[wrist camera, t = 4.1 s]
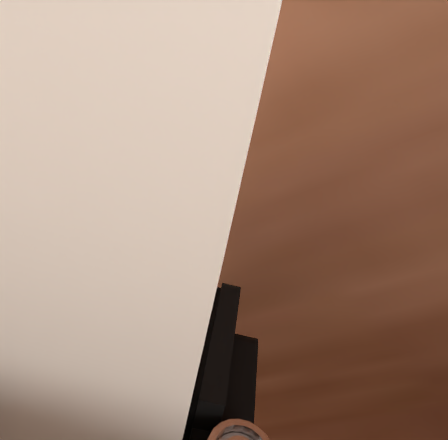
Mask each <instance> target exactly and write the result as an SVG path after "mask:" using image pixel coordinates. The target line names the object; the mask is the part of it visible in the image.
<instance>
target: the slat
mask: <svg viewBox="0 0 448 440" xmlns="http://www.w3.org/2000/svg"><path fill="white" fill-rule="evenodd" d="M281 4H282V0H0V440H182V439H183V434H184V430H185V426H186V421H187V417H188V412H189V408H190V404H191V399H192V395H193V390H194V386H195V382H196V377H197V373H198V368H199V364H200V360H201V355H202V351H203V346H204V342H205V338H206V333H207V329H208V324H209V320H210V316H211V311H212V307H213V303H214V298H215V294H216V289H217V285H218V281H219V276H220V272H221V267H222V263H223V259H224V254H225V250H226V245H227V241H228V237H229V232H230V228H231V223H232V219H233V215H234V210H235V206H236V201H237V197H238V193H239V188H240V184H241V179H242V175H243V171H244V166H245V162H246V157H247V153H248V149H249V144H250V140H251V135H252V131H253V127H254V122H255V118H256V114H257V109H258V105H259V100H260V96H261V92H262V87H263V83H264V78H265V74H266V70H267V65H268V61H269V56H270V52H271V48H272V43H273V39H274V34H275V30H276V26H277V21H278V17H279V12H280V8H281Z"/></svg>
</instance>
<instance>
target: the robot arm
mask: <svg viewBox="0 0 448 440" xmlns="http://www.w3.org/2000/svg"><path fill="white" fill-rule="evenodd" d="M240 289H241V287H237V286H233V285H228V284H224V283H222V287H221V288H219V287H217V289H216V294H215V298H214V303H213V307H212V311H211V316H210V320H209V324H208V329H207V333H206V338H205V342H204V346H203V351H202V355H201V360H200V364H199V368H198V373H197V377H196V382H195V386H194V390H193V395H192V399H191V404H190V408H189V412H188V417H187V421H186V426H185V430H184V434H183V439H182V440H269V438H268V436H267V435H266V433H265V432H263V431H262V430H261V429H260V428H259V427H258V426H257V425H255V424H254V410H255V391H256V372H257V354H258V339H256V338H251V337H247V336H243V335H238V334H235V328H236V320H237V312H238V305H239V297H240Z"/></svg>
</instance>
